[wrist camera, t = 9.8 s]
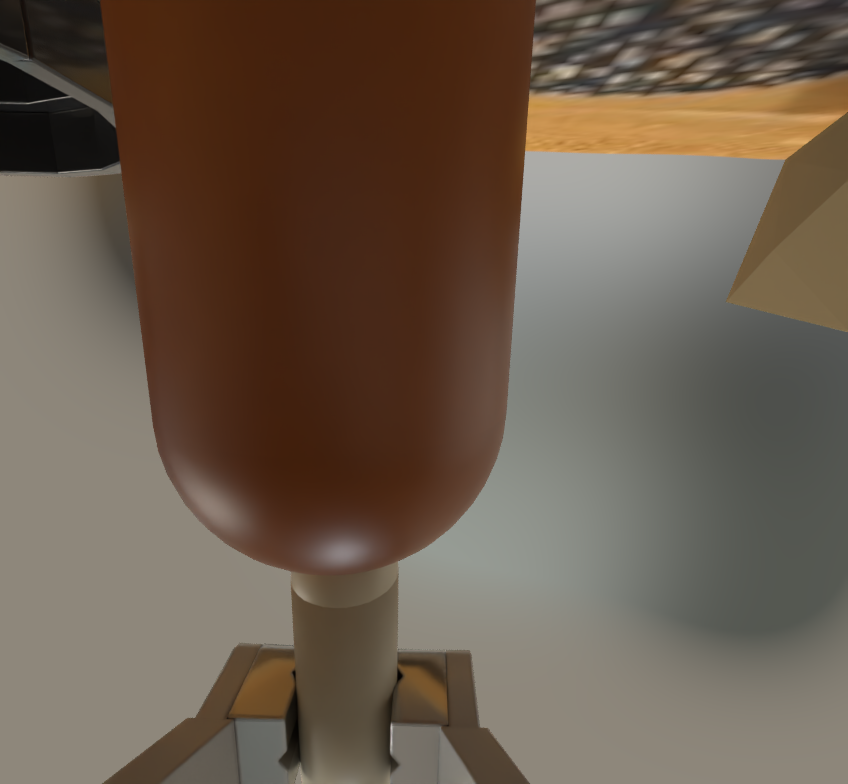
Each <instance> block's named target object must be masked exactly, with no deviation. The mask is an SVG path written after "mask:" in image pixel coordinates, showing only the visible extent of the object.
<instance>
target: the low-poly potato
mask: <svg viewBox="0 0 848 784" xmlns="http://www.w3.org/2000/svg"><path fill="white" fill-rule="evenodd" d="M726 302H728V303H732V304H737V305H741V306H745V307H748V308H753V309H757V310H761V311H765V312H769V313H773V314H777V315H781V316H785V317H789V318H793V319H797V320H801V321H805V322H809V323H813V324H817V325H821V326H826V327H829V328H834V329H838V330H841V331H846V332H848V112H847V113H846V114H845V115H843V116H842V117H841V118H840V119H838V120H837V121H836V122H834V123H833V124H832V125H830V126H829V127H828V128H826V129H825V130H824V131H823V132H821V133H820V134H819V135H817V136H816V137H815V138H813V139H812V140H811V141H809V142H808V143H807V144H806V145H804V146H803V147H802V148H800V149H799V150H798V151H796V152H795V153H794V154H792V155H791V156H790V157H789V158H787V159H786V160H785V162H784V165H783V167H782V170H781V172H780V174H779V176H778V179H777V181H776V184H775V186H774V189H773V191H772V193H771V195H770V198H769V200H768V203H767V205H766V207H765V210H764V212H763V214H762V217H761V219H760V222H759V224H758V226H757V229H756V231H755V234H754V236H753V238H752V241H751V243H750V245H749V248H748V250H747V253H746V255H745V257H744V260H743V262H742V265H741V267H740V269H739V272H738V274H737V276H736V279H735V281H734V284H733V286H732V288H731V291H730V293H729V295H728V298H727V300H726Z"/></svg>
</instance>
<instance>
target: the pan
mask: <svg viewBox="0 0 848 784" xmlns="http://www.w3.org/2000/svg"><path fill="white" fill-rule="evenodd" d="M118 173H121V165H120V157H119V149H118V141H117V133H116V125H115V117H114V109H113V101H112V93H111V85H110V77H109V69H108V61H107V53H106V45H105V37H104V29H103V21H102V13H101V5H100V0H0V175H4V176H9V175H10V176H34V177H83V176H95V175H107V174H118Z"/></svg>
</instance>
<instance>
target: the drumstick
mask: <svg viewBox="0 0 848 784" xmlns="http://www.w3.org/2000/svg"><path fill="white" fill-rule="evenodd" d="M535 4H536V0H100V5H101V13H102V21H103V29H104V37H105V45H106V53H107V61H108V69H109V77H110V85H111V93H112V101H113V109H114V117H115V125H116V133H117V141H118V149H119V157H120V165H121V173H122V181H123V189H124V197H125V204H126V213H127V220H128V229H129V236H130V245H131V252H132V260H133V269H134V277H135V285H136V293H137V300H138V308H139V316H140V325H141V333H142V340H143V348H144V357H145V365H146V372H147V381H148V388H149V397H150V405H151V412H152V421H153V428H154V432H155V437H156V442H157V447H158V451H159V454H160V457H161V459H162V462H163V464H164V467H165V470H166V472H167V475H168V477H169V478H170V480H171V482H172V483H173V485H174V487H175V488H176V490H177V492H178V493H179V495H180V497H181V498H182V500H183V502H184V503H185V505H186V506H187V507H188V508H189V509H190V510H191V512H192V513H193V514H194V515H195V516H196V518H197V519H198V520H199V521H200V522H201V523H202V524H203V525H204V526H205V527H206V528H208V529H209V530H210V531H211V532H212V533H214V534H215V535H216V536H217V537H218V538H220V539H221V540H222V541H223V542H224V543H226V544H227V545H229V546H231V547H232V548H234V549H236V550H237V551H239V552H241V553H243V554H245V555H247V556H248V557H250V558H252V559H254V560H257V561H259V562H261V563H264V564H267V565H270V566H273V567H277V568H281V569H284V570H288V571H291V595H292V614H293V633H294V652H295V671H296V690H297V708H298V727H299V746H300V765H301V783H302V784H390V769H391V755H390V739H391V715H392V703H393V691H394V686H395V685H396V684H397V646H398V645H397V642H398V561H400V560H402V559H404V558H406V557H408V556H410V555H412V554H414V553H416V552H418V551H420V550H422V549H423V548H425V547H427V546H428V545H429V544H431V543H432V542H434V541H435V540H436V539H437V538H439V537H440V536H441V535H443V534H444V533H445V532H446V531H447V530H449V529H450V528H451V527H452V526H453V525H454V524H455V523H456V522H457V521H458V520H459V519H460V517H461V516H462V515H463V514H464V513H465V512H466V511H467V510H468V508H469V507H470V506H471V505H472V504H473V502H474V501H475V499H476V498H477V496H478V495H479V493H480V492H481V490H482V488H483V487H484V485H485V483H486V481H487V479H488V477H489V475H490V473H491V470H492V468H493V466H494V464H495V462H496V459H497V456H498V453H499V450H500V446H501V443H502V439H503V433H504V426H505V419H506V410H507V396H508V382H509V368H510V354H511V340H512V326H513V312H514V298H515V284H516V269H517V256H518V242H519V228H520V214H521V200H522V186H523V172H524V157H525V144H526V130H527V116H528V102H529V88H530V74H531V60H532V46H533V32H534V18H535Z"/></svg>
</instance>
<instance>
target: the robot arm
mask: <svg viewBox="0 0 848 784" xmlns="http://www.w3.org/2000/svg"><path fill="white" fill-rule="evenodd" d="M390 755H391V769H390V784H530V783H529V782H528V780H527V779H526V778H525V776H524V775H523V774H522V773H521V771H520V770H519V769H518V767H517V766H516V765H515V763H514V762H513V761H512V759H511V758H510V757H509V755H508V754H507V753H506V751H505V750H504V749H503V747H502V746H501V745H500V743H499V742H498V741H497V739H496V738H495V737H494V735H493V734H492V733H491V732H490V730H489V729H488V728H480V724H479V715H478V707H477V698H476V689H475V682H474V672H473V663H472V655H471V653H470V651H469V650H446V651H445V650H420V649H398V651H397V684H396V685H395V686H394V691H393V703H392V715H391V739H390ZM299 765H300V746H299V727H298V708H297V690H296V671H295V652H294V646H293V645H277V644H249V643H239V644H238V645H237V646H236V647H235V648H234V649H233V651H232V652H231V654H230V656H229V658H228V660H227V662H226V663H225V665H224V667H223V669H222V671H221V673H220V674H219V676H218V678H217V680H216V682H215V683H214V685H213V687H212V689H211V690H210V692H209V694H208V696H207V698H206V699H205V701H204V703H203V705H202V707H201V709H200V711H199V712H198V714H197V716H196V717H195V718H187V719H185V720H184V721H183V722H181V723H180V724H179V725H177V726H176V727H175V728H174V729H172V730H171V731H170V732H168V733H167V734H166V735H165V736H163V737H162V738H161V739H160V740H158V741H157V742H155V743H154V744H153V745H152V746H150V747H149V748H148V749H146V750H145V751H144V752H143V753H141V754H140V755H139V756H137V757H136V758H135V759H134V760H132V761H131V762H130V763H128V764H127V765H126V766H125V767H123V768H122V769H121V770H119V771H118V772H117V773H115V774H114V775H113V776H112V777H110V778H109V779H108V780H106V781H105V782H104V783H102V784H294V783H295V780H296V776H297V772H298V768H299Z"/></svg>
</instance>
